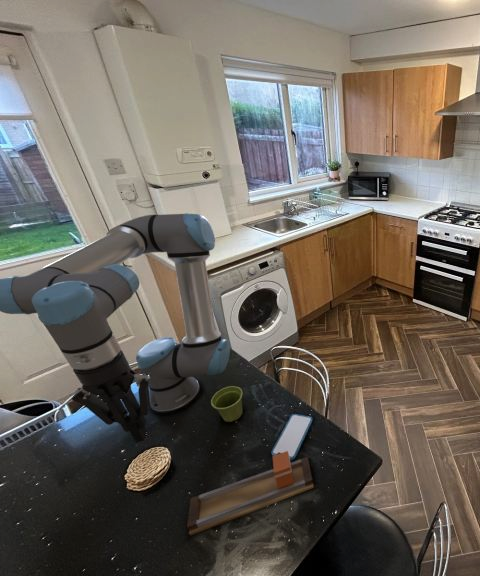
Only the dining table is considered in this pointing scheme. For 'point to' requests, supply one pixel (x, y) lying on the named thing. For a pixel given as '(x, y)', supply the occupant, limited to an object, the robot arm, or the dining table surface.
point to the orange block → (283, 470)
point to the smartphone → (292, 435)
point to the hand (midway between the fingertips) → (141, 436)
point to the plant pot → (228, 403)
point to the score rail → (245, 497)
